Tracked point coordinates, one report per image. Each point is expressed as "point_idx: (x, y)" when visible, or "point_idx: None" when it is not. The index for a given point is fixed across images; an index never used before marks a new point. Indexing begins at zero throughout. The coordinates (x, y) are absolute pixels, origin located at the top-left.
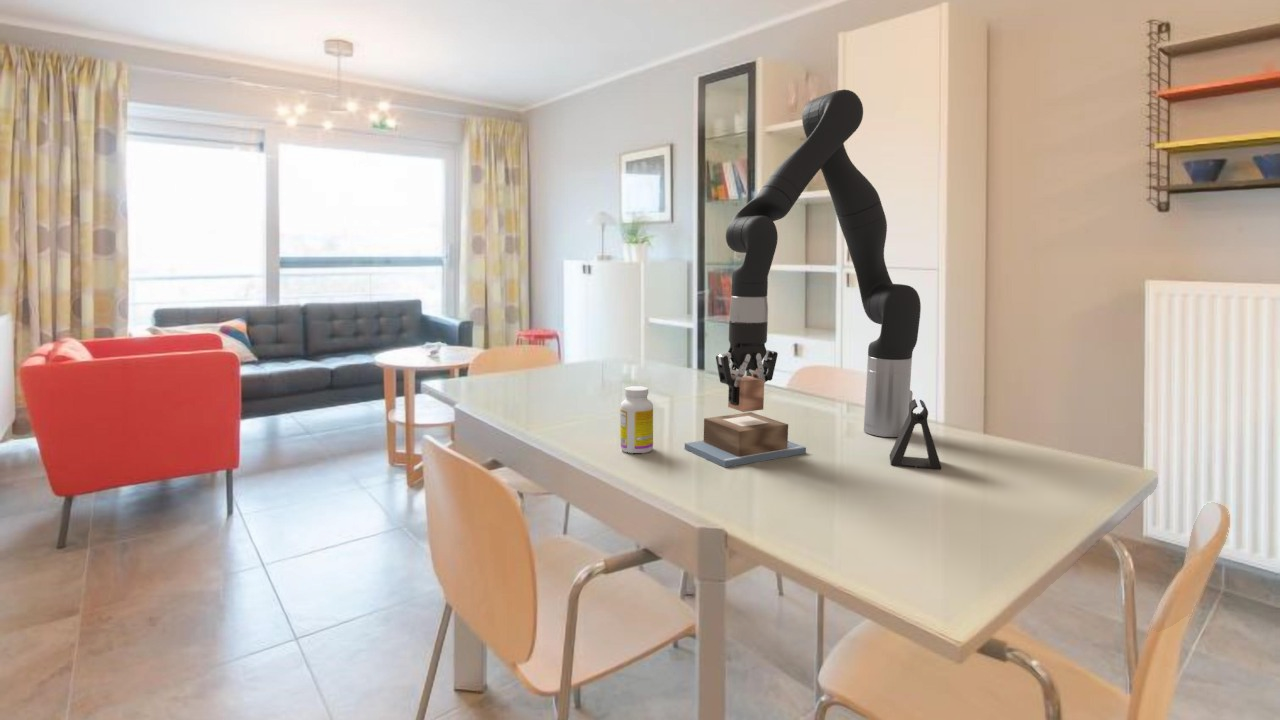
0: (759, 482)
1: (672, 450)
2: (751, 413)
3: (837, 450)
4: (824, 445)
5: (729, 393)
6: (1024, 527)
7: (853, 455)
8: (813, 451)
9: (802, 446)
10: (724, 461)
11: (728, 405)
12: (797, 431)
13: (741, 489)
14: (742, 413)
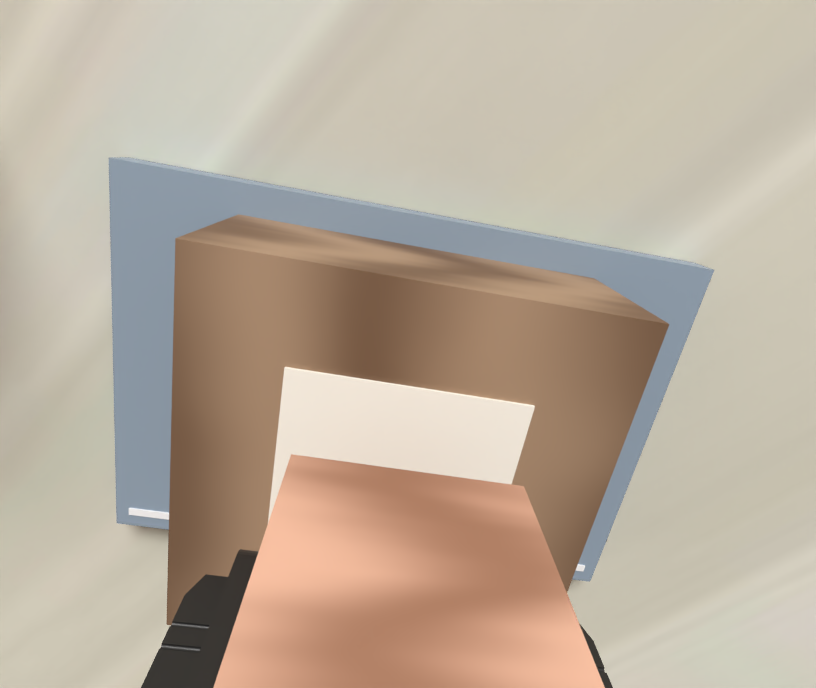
0: (141, 667)
1: (43, 128)
2: (634, 356)
3: (713, 601)
4: (753, 535)
5: (153, 673)
6: None
7: (686, 662)
8: (630, 560)
9: (591, 566)
10: (117, 519)
11: (286, 468)
12: None
13: (36, 677)
14: (579, 314)
